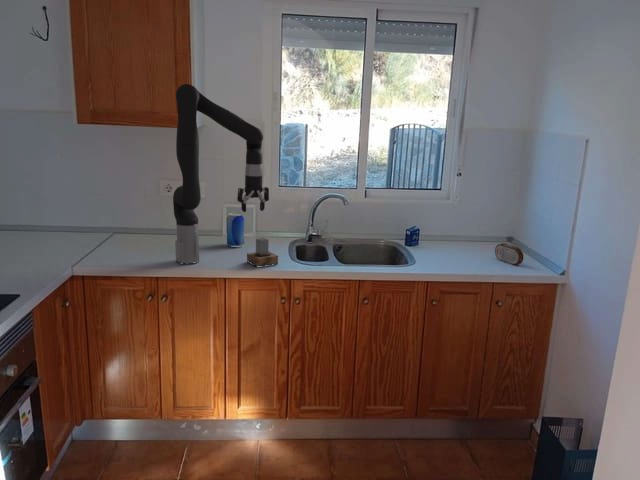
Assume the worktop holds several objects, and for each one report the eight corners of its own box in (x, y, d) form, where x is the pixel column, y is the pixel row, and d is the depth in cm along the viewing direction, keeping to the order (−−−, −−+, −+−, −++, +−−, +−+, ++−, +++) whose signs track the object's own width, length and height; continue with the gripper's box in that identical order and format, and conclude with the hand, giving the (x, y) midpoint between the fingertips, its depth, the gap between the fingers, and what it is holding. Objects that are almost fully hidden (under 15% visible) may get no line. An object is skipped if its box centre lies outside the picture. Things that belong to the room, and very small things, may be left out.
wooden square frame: (257, 267, 231) (257, 259, 230) (246, 262, 239) (246, 253, 238) (277, 264, 237) (277, 255, 236) (266, 258, 245) (266, 250, 244)
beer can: (235, 249, 259) (235, 216, 255) (223, 246, 264) (222, 214, 260) (247, 245, 266) (247, 214, 262) (235, 242, 271) (235, 211, 267)
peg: (260, 265, 236) (260, 240, 233) (255, 262, 239) (255, 238, 236) (268, 263, 238) (268, 239, 235) (263, 261, 241) (263, 237, 238)
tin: (522, 266, 246) (525, 248, 244) (518, 267, 245) (520, 249, 242) (497, 258, 259) (499, 241, 257) (492, 258, 257) (494, 241, 255)
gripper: (242, 175, 226) (242, 213, 230) (272, 175, 234) (271, 211, 238) (235, 173, 232) (234, 210, 236) (264, 172, 240) (263, 208, 244)
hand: (253, 211), depth 237 cm, fingers open, 8 cm apart
